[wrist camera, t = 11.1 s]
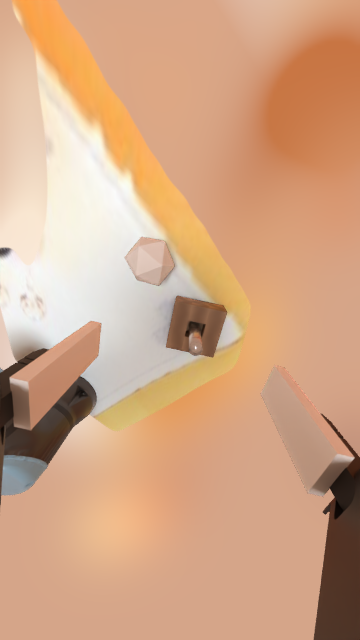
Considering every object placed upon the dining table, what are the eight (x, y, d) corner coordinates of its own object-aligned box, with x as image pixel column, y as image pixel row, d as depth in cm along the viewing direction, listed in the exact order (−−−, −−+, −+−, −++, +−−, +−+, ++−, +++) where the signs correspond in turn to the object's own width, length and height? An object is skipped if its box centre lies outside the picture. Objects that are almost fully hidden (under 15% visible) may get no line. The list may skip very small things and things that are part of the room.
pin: (188, 328, 45) (187, 353, 34) (190, 318, 44) (190, 341, 33) (198, 330, 45) (200, 356, 34) (200, 321, 45) (204, 344, 33)
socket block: (168, 337, 48) (165, 347, 43) (177, 295, 44) (175, 300, 40) (211, 347, 48) (213, 357, 44) (223, 305, 44) (227, 312, 40)
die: (137, 233, 41) (107, 257, 35) (171, 225, 36) (142, 251, 30) (154, 268, 46) (130, 294, 41) (186, 265, 41) (164, 294, 36)
